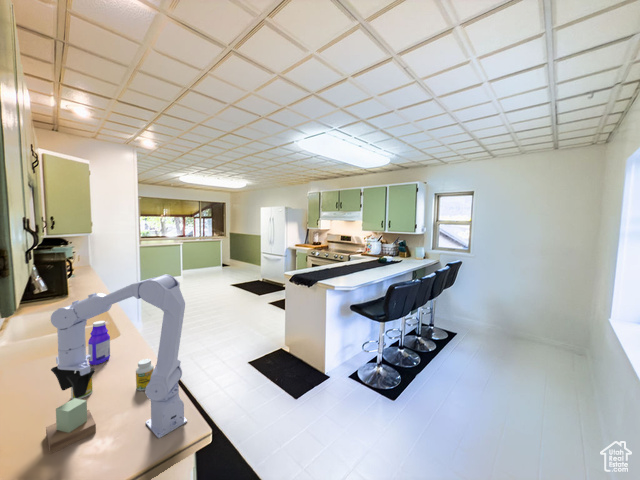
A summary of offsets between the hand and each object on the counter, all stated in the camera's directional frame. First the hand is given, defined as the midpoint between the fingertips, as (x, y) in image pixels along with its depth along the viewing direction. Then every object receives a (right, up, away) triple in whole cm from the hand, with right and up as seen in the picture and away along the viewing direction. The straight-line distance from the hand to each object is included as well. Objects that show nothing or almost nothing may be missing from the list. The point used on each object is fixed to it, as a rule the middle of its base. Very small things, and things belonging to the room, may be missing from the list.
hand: (73, 392), depth 74 cm
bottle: (-24, -9, +36) cm, 44 cm away
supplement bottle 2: (+7, -10, +20) cm, 23 cm away
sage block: (+2, -8, -2) cm, 9 cm away
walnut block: (+1, -11, -2) cm, 11 cm away
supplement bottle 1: (-11, -10, +15) cm, 21 cm away
